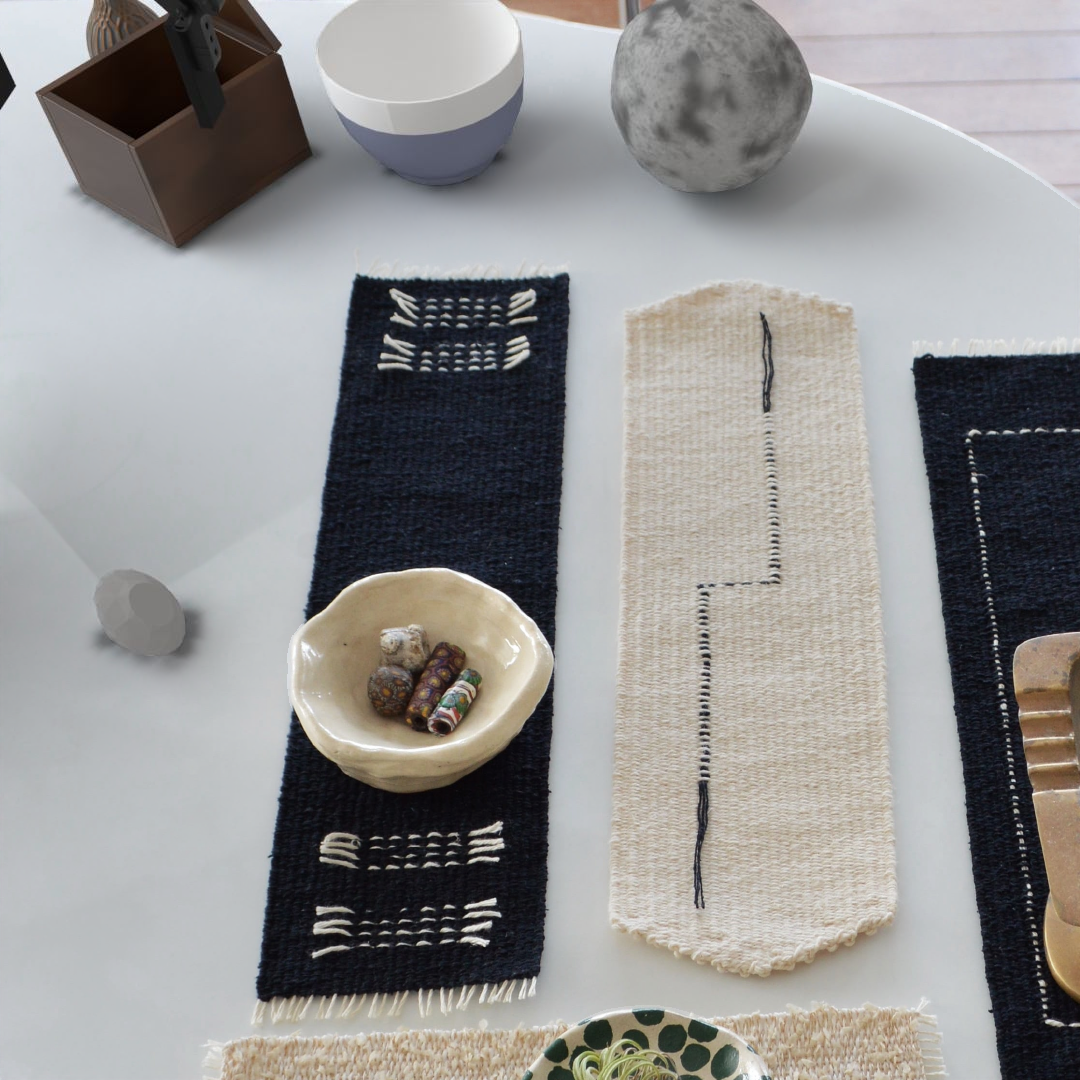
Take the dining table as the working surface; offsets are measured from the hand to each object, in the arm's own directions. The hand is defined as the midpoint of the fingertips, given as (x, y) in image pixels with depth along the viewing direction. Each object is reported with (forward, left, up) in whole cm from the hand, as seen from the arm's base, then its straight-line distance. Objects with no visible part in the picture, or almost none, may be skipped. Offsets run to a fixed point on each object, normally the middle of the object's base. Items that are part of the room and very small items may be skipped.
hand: (107, 107), depth 90 cm
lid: (0, +26, -4) cm, 26 cm away
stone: (+39, +16, -21) cm, 47 cm away
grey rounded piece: (-3, -25, -21) cm, 33 cm away
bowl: (+17, +23, -21) cm, 35 cm away
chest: (-3, +23, -21) cm, 31 cm away
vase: (-8, +35, -21) cm, 41 cm away
